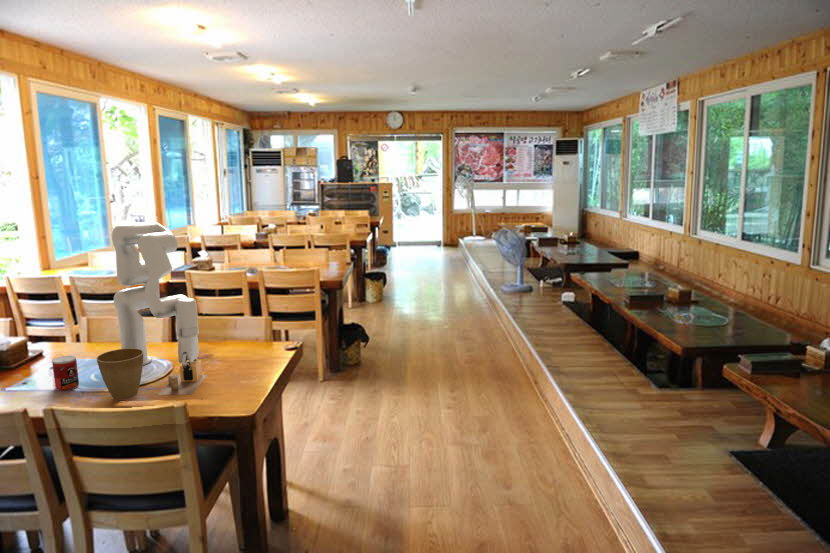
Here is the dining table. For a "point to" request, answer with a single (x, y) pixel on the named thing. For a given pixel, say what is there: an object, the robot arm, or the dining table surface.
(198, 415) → the dining table surface
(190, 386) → the junction board
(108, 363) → the plant pot
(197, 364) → the wooden block
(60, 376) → the canned food
